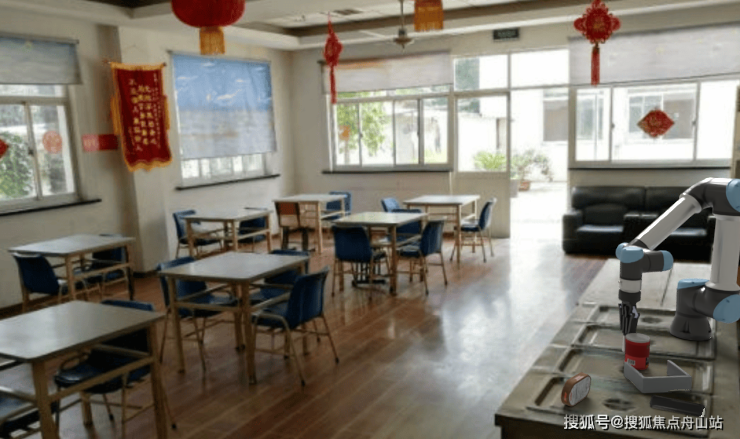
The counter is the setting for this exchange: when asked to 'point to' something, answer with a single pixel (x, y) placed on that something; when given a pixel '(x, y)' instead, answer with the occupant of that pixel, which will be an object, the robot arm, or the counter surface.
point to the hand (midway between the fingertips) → (626, 351)
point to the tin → (576, 389)
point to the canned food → (637, 350)
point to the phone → (676, 405)
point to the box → (659, 379)
